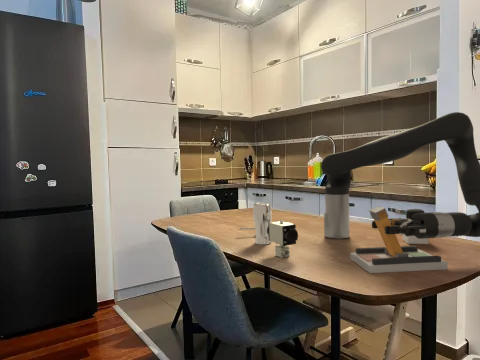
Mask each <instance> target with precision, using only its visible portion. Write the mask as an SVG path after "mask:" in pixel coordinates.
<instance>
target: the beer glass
mask: <svg viewBox="0 0 480 360" xmlns="http://www.w3.org/2000/svg"><path fill="white" fill-rule="evenodd" d="M252 210H253V211H252V215H253V216H252V217H253V224H254V228H255V229H254V230H255V240H254V242H255V243H254V244H256V245H260V246H264V245H269V244H271V243H272V241H269V235H268V234H267V227H268V222H272V219H273V218H272V215H273V213H272V203H270V202H257V203H253V209H252Z"/></svg>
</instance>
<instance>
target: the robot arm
mask: <svg viewBox="0 0 480 360" xmlns="http://www.w3.org/2000/svg"><path fill="white" fill-rule="evenodd" d="M474 135H475V134H474V126H473V123H472V120H471V118H470V117H469V115H467V114H465V113H464V112H459V111H458V112H457V111H456V112H455V111H454V112H450V113H447V114H444V115H441V116H440V117H438V118H434V119H433V120H430V121H428V122H426V123H423V124H421V125H418V126H414V127H412V128H408V129H405V130H402V131H399V132H397V133H393V134H389V135H385V136H383V137H380V138H377V139H374V140H373V141H370V142H366V143H365V144H362V145H360V146H358V147H355V148H352V149H349V150H346V151H345V150H343V151H341V152H336V153H330V154H328V155H326V156H325V157H324V158H323V159H322V161H321V163H320V164H321V165H320V168H321V171H322V172H323V174H325V176H327V184H326V186H325V187H324V199H325V201H324V208H325V209H324V211H325V212H324V214H323V222H324V223H323V227H324V228H323V230H324V231H323V235H324V238H330V239H339V240H340V239H347V238H350V194H349V193H350V188H351V181H352V180H351V177H352V176H351V175H352V171H353V170H355V169H359V168H364V167H370V166H378V165H383V164H386V163H390V162H394V161H397V160H401V159H403V158H404V159H405V158H406V157H407V156H409V155H411V154H413V153H414V152H416V151H417V150H419V149H421V148H422V147H424V146H427V145H431V144H434V143H438V142H442V141H444V142H446V144H447V146H448V148H449V150H450V152H451V154H452V156H453V159H454V163H455V165H456V166H455V167H456V171H457V172H456V173H457V178H458V182H459V187H460V190H461V193H462V196H463V199H464V202H465V203H466V205H468V206H475V207H476V209H477V210H478V212H476V213H473V214H467V213H464V212H459V211H456V212H455V211H454V212H441V211H437V212H436V211H434V212H425V213H415V214H414V215H413V216H412V218H411V220H408V219H406V217H405V218H402V217H398V218H394V217H393V218H388V219H389V221H390V223H391V226H386V227H385V234H395V235H400V236H403V235H405V236H415V237H417V238H419V239H426V238H429V239H438V238H439V239H441V238H442V239H443V238H448V237H461V236H462V237H470V238H471V237H472V238H480V161H479V157H478V155H477V152H476V146H475V145H476V144H475V138H474ZM371 228H372V229H378V227H377V225H376V223H375V221H374V220H373V221H371Z"/></svg>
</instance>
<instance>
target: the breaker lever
mask: <svg viewBox="0 0 480 360" xmlns="http://www.w3.org/2000/svg"><path fill="white" fill-rule="evenodd" d="M368 212H369V214H370V217H371V218H372V219H373V221H375V223H376V225H377V227H378V228H377V229H378V233H379V235H380V236H381V239H382V240H383V243H384V247H386V248H387V250H388V253H389V254H391V255H393V256H394V257H396V253H403V251H402V249H401V247H400V246H401V245H400V242H399V240H398V237H397V234H385V227H386V226H391V223H390V221H389V219H390V218H389V214H388V212H387V209H386V208H385V207H381V206H379V205H377V206H375V207H373V208H371V209H370V210H369V209H368Z"/></svg>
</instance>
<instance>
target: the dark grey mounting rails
mask: <svg viewBox="0 0 480 360" xmlns="http://www.w3.org/2000/svg"><path fill="white" fill-rule="evenodd" d="M385 247H386V246H382V247H381V246H379V247H378V246H377V247H356V248H355V252H356V253H357V254H367V253H385ZM400 247H401V249H402V251H403V252H410V251H418V249H419V247H418V246H417V245H403V246H402V245H400ZM441 259H442V256H440V255H433V256H418V257H397V258H376V259H372V264H373V265H388V264H408V263H429V262H441Z"/></svg>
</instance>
